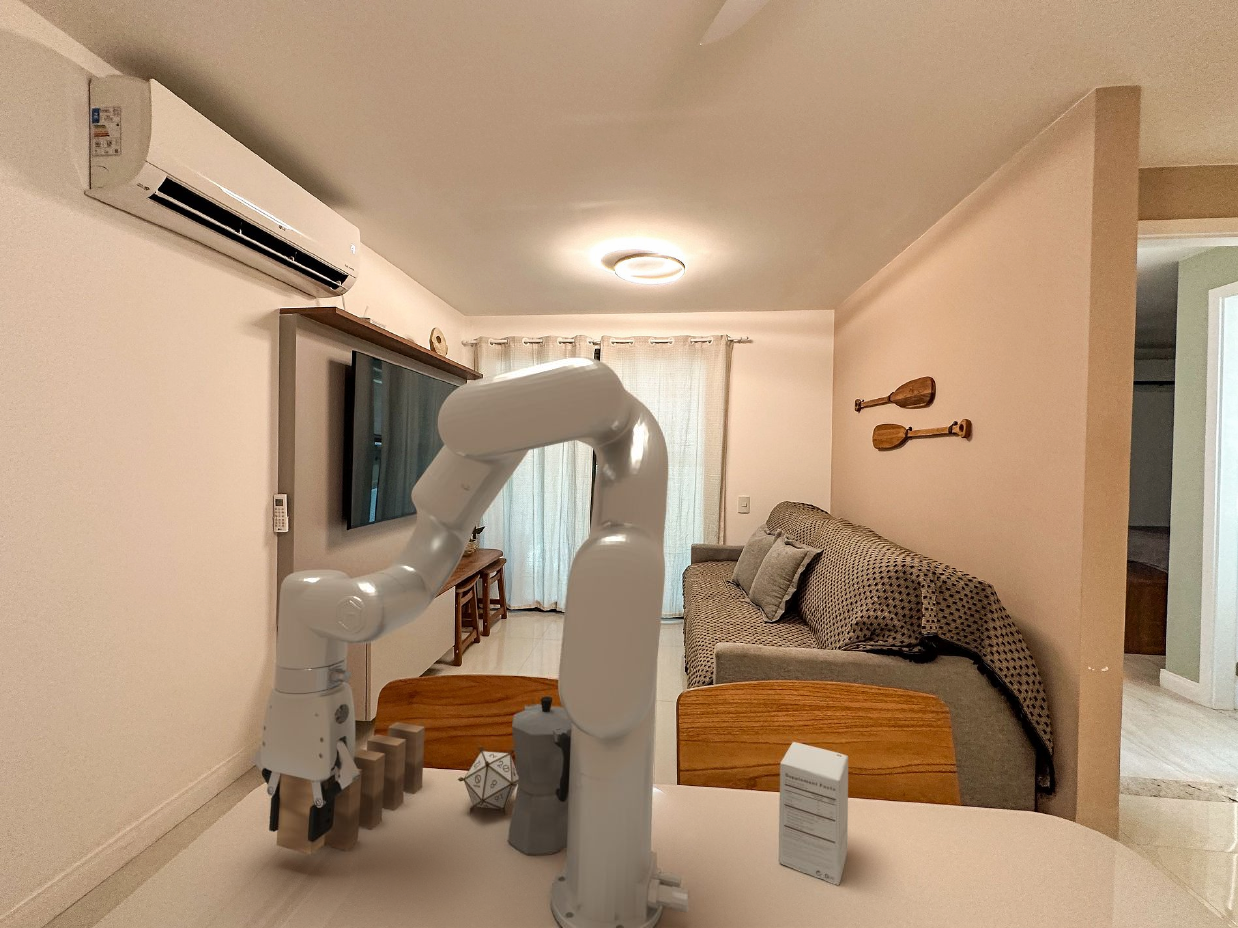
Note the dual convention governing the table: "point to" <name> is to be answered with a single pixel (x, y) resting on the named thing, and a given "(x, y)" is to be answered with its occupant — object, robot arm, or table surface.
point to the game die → (491, 780)
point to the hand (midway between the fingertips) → (301, 827)
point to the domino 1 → (296, 814)
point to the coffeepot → (541, 779)
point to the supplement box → (814, 811)
